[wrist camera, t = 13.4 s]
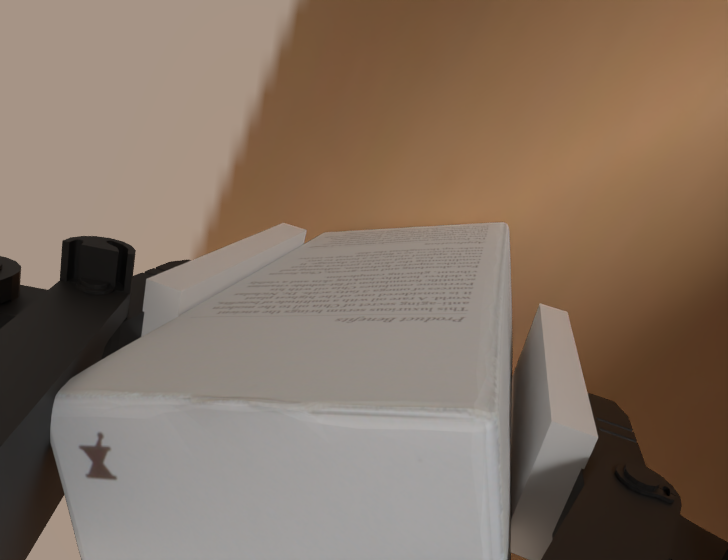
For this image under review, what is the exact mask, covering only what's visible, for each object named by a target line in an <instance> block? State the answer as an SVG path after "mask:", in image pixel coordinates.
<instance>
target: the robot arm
mask: <svg viewBox="0 0 728 560" xmlns="http://www.w3.org/2000/svg"><path fill="white" fill-rule="evenodd" d="M306 232H307V230H305V229H302V228H299V227H296V226H293V225H289V224H286V223H282V224H279V225H277V226H274V227H272V228H269V229H267V230H264V231H262V232H260V233H257V234H255V235H252V236H250V237H247V238H245V239H243V240H240V241H238V242H235V243H233V244H230V245H228V246H225V247H223V248H221V249H218V250H216V251H213V252H211V253H208V254H206V255H204V256H201V257H199V258H196V259H194V260H182V261H173V262H168V263H166V264H163V265H160V266H158V267H156V269H155V268H153V269H150V270H148V271H145V273H140V274H137V275H135V276H133V269H134V260H135V249H134V248H133V247H132V246H131V245H129V244H126V243H125V242H122V241H119V240H115V239H111V238H104V237H97V236H81V237H72V238H69V239H66V240H63V243H62V257H61V271H60V281H59V282H58V283H56V284H55V285H54V286H53V287H52V288H50V289H49V290H45V289H39V288H35V287H29V286H24V285H20V274H21V266H20V265H19V264H18V263H17V262H16V261H13V260H11V259H9V258H6V257H1V256H0V560H25V559H26V558H27V556H28V554H29V553H30V551H31V549H32V548H33V546H34V544H35V543H36V541H37V539H38V538H39V536H40V534H41V533H42V531H43V529H44V528H45V526H46V524H47V523H48V521H49V519H50V518H51V516H52V514H53V513H54V511H55V509H56V508H57V506H58V504H59V502H60V501H61V499H62V497H63V496H64V491H63V487H62V483H61V479H60V476H59V472H58V468H57V465H56V461H55V457H54V454H53V450H52V446H51V443H50V426H51V416H52V409H53V404H54V400H55V396H56V394H57V393H58V391H59V390H60V389H61V388H62V387H63V386H64V385H65V384H66V383H67V382H68V381H69V380H70V379H71V378H72V377H74V376H75V375H77V374H79V373H80V372H82V371H84V370H85V369H87V368H89V367H90V366H92V365H94V364H95V363H97V362H99V361H100V360H102V359H104V358H105V357H107V356H109V355H110V354H112V353H114V352H116V351H117V350H119V349H121V348H123V347H124V346H126V345H128V344H130V343H132V342H133V341H135V340H137V339H139V338H141V337H142V336H144V335H146V334H148V333H150V332H151V331H153V330H155V329H157V328H159V327H160V326H162V325H164V324H166V323H167V322H169V321H171V320H173V319H175V318H176V317H178V316H180V315H181V314H183V313H185V312H187V311H188V310H190V309H192V308H194V307H195V306H197V305H199V304H201V303H202V302H204V301H206V300H208V299H209V298H211V297H212V296H214V295H216V294H218V293H220V292H222V291H223V290H225V289H227V288H229V287H230V286H232V285H234V284H236V283H237V282H239V281H241V280H243V279H244V278H246V277H248V276H250V275H251V274H253V273H255V272H257V271H258V270H260V269H262V268H263V267H265V266H267V265H269V264H270V263H272V262H274V261H275V260H277V259H279V258H281V257H282V256H284V255H286V254H288V253H289V252H291V251H293V250H294V249H296V248H298V247H300V246H301V245H303V244H304V241H305V236H306ZM632 430H633V429H632V426H631V424H630V421H629V418H628V416H627V415H626V414H625V413H624V412H623V411H622V410H621V409H620V407H619V406H618V405H617V404H616V403H615V402H613V401H610V400H607V399H604V398H602V397H599V396H596V395H593V394H590V393H587V389H586V385H585V381H584V377H583V373H582V369H581V365H580V361H579V357H578V352H577V348H576V344H575V340H574V336H573V332H572V328H571V324H570V320H569V316H568V312H566V311H563V310H560V309H557V308H554V307H550V306H547V305H544V304H541V303H540V304H539V307H538V309H537V312H536V315H535V317H534V320H533V323H532V325H531V328H530V331H529V333H528V336H527V339H526V342H525V344H524V347H523V350H522V352H521V355H520V358H519V360H518V363H517V366H516V368H515V371H514V374H513V376H512V414H511V553H514V554H516V555H519V556H521V557H524V558H526V559H529V560H728V542H726V541H724V540H723V539H721V538H719V537H717V536H715V535H713V534H712V533H710V532H708V531H706V530H704V529H702V528H701V527H699V526H697V525H695V524H694V523H692V522H691V521H689V520H687V519H686V518H684V517H683V516H682V515H680V511H681V507H682V505H681V499H680V496H679V494H678V493H677V492H676V490H675V489H674V488H673V486H672V485H671V484H669V483H668V482H667V481H666V480H665V479H664V478H663V477H661V476H660V475H659V474H657V473H655V472H654V471H652V470H651V469H649V468H647V467H646V465H645V462H644V459H643V456H642V454H641V451H640V448H639V445H638V443H636V441H637V440H636V437H635V435H634V432H632Z"/></svg>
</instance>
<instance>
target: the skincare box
mask: <svg viewBox="0 0 728 560" xmlns="http://www.w3.org/2000/svg"><path fill="white" fill-rule="evenodd" d="M512 358H513V344H512V293H511V262H510V234H509V227H508V225H507V224H506V223H505V222H495V223H476V224H458V225H441V226H424V227H406V228H388V229H372V230H355V231H340V232H324V233H322V234H321V235H319V236H317V237H315V238H314V239H312V240H310V241H308V242H307V243H305V244H303V245H301V246H300V247H298V248H296V249H294V250H293V251H291V252H289V253H288V254H286V255H284V256H282V257H281V258H279V259H277V260H275V261H274V262H272V263H270V264H269V265H267V266H265V267H263V268H262V269H260V270H258V271H257V272H255V273H253V274H251V275H250V276H248V277H246V278H244V279H243V280H241V281H239V282H237V283H236V284H234V285H232V286H230V287H229V288H227V289H225V290H223V291H222V292H220V293H218V294H216V295H214V296H212V297H211V298H209V299H208V300H206V301H204V302H202V303H201V304H199V305H197V306H195V307H194V308H192V309H190V310H188V311H187V312H185V313H183V314H181V315H180V316H178V317H176V318H175V319H173V320H171V321H169V322H167V323H166V324H164V325H162V326H160V327H159V328H157V329H155V330H153V331H151V332H150V333H148V334H146V335H144V336H142V337H141V338H139V339H137V340H135V341H133V342H132V343H130V344H128V345H126V346H124V347H123V348H121V349H119V350H117V351H116V352H114V353H112V354H110V355H109V356H107V357H105V358H104V359H102V360H100V361H99V362H97V363H95V364H94V365H92V366H90V367H89V368H87V369H85V370H84V371H82V372H80V373H79V374H77V375H75V376H74V377H72V378H71V379H70V380H69V381H68V382H67V383H66V384H65V385H64V386H63V387H62V388H61V389H60V390H59V391H58V393H57V394H56V396H55V400H54V404H53V409H52V416H51V426H50V443H51V446H52V450H53V454H54V457H55V461H56V465H57V468H58V472H59V476H60V479H61V483H62V487H63V491H64V494H65V498H66V502H67V506H68V510H69V514H70V517H71V521H72V525H73V530H74V534H75V537H76V541H77V546H78V549H79V553H80V557H81V560H511V414H512Z"/></svg>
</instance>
